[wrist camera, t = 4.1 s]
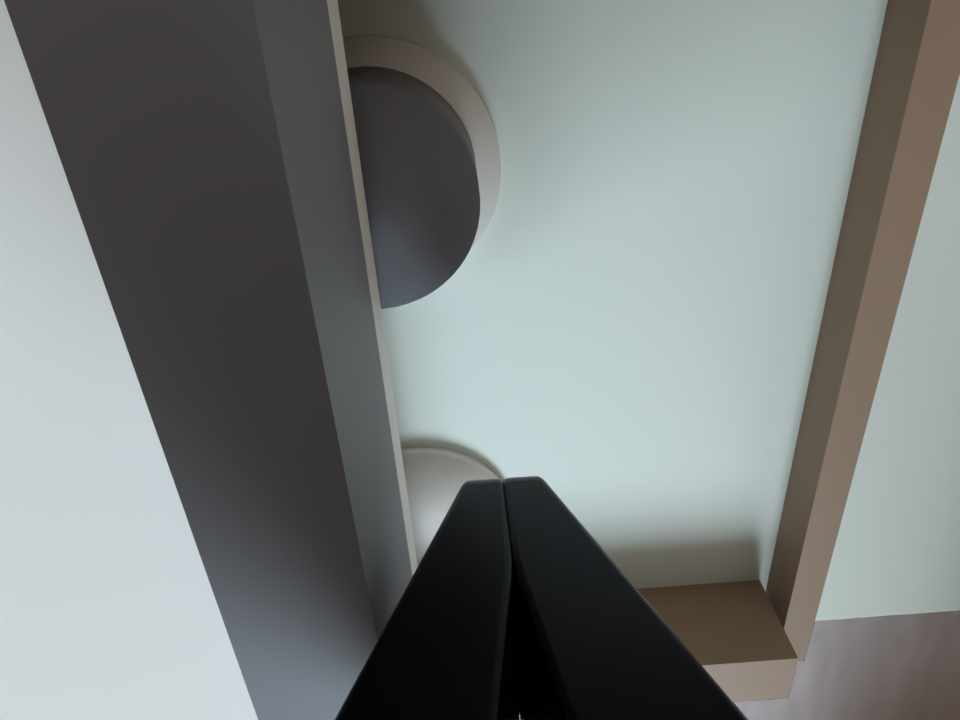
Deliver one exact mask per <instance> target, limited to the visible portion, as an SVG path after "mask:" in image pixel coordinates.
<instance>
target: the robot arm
mask: <svg viewBox="0 0 960 720" xmlns="http://www.w3.org/2000/svg"><path fill="white" fill-rule="evenodd" d="M519 713H520V719H521V720H748V719H747V718H746V717H745V715H744V714H743V713H742V712H741V711H740V710H739V708H738V707H737V706H736V705H735V704H734V703H733V701H732V700H731V699H730V698H729V697H728V695H727V694H726V693H725V692H724V691H723V690H722V688H721V687H720V686H719V685H718V684H717V683H716V681H715V680H714V679H713V678H712V677H711V676H710V674H709V673H708V672H707V671H706V670H705V668H704V667H703V666H702V665H701V664H700V663H699V661H698V660H697V659H696V658H695V657H694V656H693V654H692V653H691V652H690V651H689V650H688V648H687V647H686V646H685V645H684V644H683V643H682V641H681V640H680V639H679V638H678V637H677V636H676V634H675V633H674V632H673V631H672V630H671V628H670V627H669V626H668V625H667V624H666V623H665V621H664V620H663V619H662V618H661V617H660V616H659V614H658V613H657V612H656V611H655V610H654V608H653V607H652V606H651V605H650V604H649V603H648V601H647V600H646V599H645V598H644V597H643V596H642V594H641V593H640V592H639V591H638V590H637V588H636V587H635V586H634V585H633V584H632V583H631V581H630V580H629V579H628V578H627V577H626V576H625V574H624V573H623V572H622V571H621V570H620V569H619V567H618V566H617V565H616V564H615V563H614V561H613V560H612V559H611V558H610V557H609V556H608V554H607V553H606V552H605V551H604V550H603V549H602V547H601V546H600V545H599V544H598V543H597V541H596V540H595V539H594V538H593V537H592V536H591V534H590V533H589V532H588V531H587V530H586V529H585V527H584V526H583V525H582V524H581V523H580V521H579V520H578V519H577V518H576V517H575V516H574V514H573V513H572V512H571V511H570V510H569V509H568V507H567V506H566V505H565V504H564V503H563V501H562V500H561V499H560V498H559V497H558V496H557V494H556V493H555V492H554V491H553V490H552V489H551V487H550V486H549V485H548V484H547V483H546V482H545V480H544V479H543V478H541V477H539V476H526V477H511V478H505V479H504V480H501V479H497V478H496V479H481V480H469V481H466V482H465V483H464V484H463V485H462V486H461V488H460V490H459V492H458V494H457V495H456V497H455V499H454V501H453V503H452V505H451V506H450V508H449V510H448V512H447V514H446V516H445V517H444V519H443V521H442V523H441V525H440V527H439V528H438V530H437V532H436V534H435V536H434V538H433V540H432V541H431V543H430V545H429V547H428V549H427V551H426V552H425V554H424V556H423V558H422V560H421V562H420V563H419V565H418V567H417V569H416V571H415V573H414V574H413V576H412V578H411V580H410V582H409V584H408V585H407V587H406V589H405V591H404V593H403V595H402V597H401V598H400V600H399V602H398V604H397V606H396V608H395V609H394V611H393V613H392V615H391V617H390V619H389V620H388V622H387V624H386V626H385V628H384V630H383V631H382V633H381V635H380V637H379V639H378V641H377V642H376V644H375V646H374V648H373V650H372V652H371V654H370V655H369V657H368V659H367V661H366V663H365V665H364V666H363V668H362V670H361V672H360V674H359V676H358V677H357V679H356V681H355V683H354V685H353V687H352V688H351V690H350V692H349V694H348V696H347V698H346V700H345V701H344V703H343V705H342V707H341V709H340V711H339V712H338V714H337V716H336V718H335V720H519Z"/></svg>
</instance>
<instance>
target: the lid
mask: <svg viewBox="0 0 960 720" xmlns="http://www.w3.org/2000/svg"><path fill="white" fill-rule="evenodd" d="M417 567H418V565H417V558H416V551H415V544H414V537H413V530H412V523H411V516H410V509H409V501H408V494H407V487H406V480H405V473H404V466H403V459H402V452H401V445H400V438H399V431H398V424H397V417H396V410H395V403H394V396H393V389H392V382H391V375H390V368H389V361H388V354H387V346H386V339H385V332H384V325H383V318H382V311H381V304H380V297H379V290H378V283H377V276H376V269H375V262H374V255H373V248H372V241H371V234H370V227H369V220H368V213H367V206H366V199H365V191H364V184H363V177H362V170H361V163H360V156H359V149H358V142H357V135H356V128H355V121H354V114H353V107H352V100H351V93H350V86H349V79H348V72H347V65H346V58H345V51H344V44H343V36H342V29H341V22H340V15H339V8H338V1H337V0H0V720H335V718H336V716H337V714H338V712H339V711H340V709H341V707H342V705H343V703H344V701H345V700H346V698H347V696H348V694H349V692H350V690H351V688H352V687H353V685H354V683H355V681H356V679H357V677H358V676H359V674H360V672H361V670H362V668H363V666H364V665H365V663H366V661H367V659H368V657H369V655H370V654H371V652H372V650H373V648H374V646H375V644H376V642H377V641H378V639H379V637H380V635H381V633H382V631H383V630H384V628H385V626H386V624H387V622H388V620H389V619H390V617H391V615H392V613H393V611H394V609H395V608H396V606H397V604H398V602H399V600H400V598H401V597H402V595H403V593H404V591H405V589H406V587H407V585H408V584H409V582H410V580H411V578H412V576H413V574H414V573H415V571H416V569H417Z"/></svg>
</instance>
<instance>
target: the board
mask: <svg viewBox="0 0 960 720" xmlns="http://www.w3.org/2000/svg"><path fill="white" fill-rule="evenodd" d="M337 1H338V8H339V15H340V22H341V29H342V36H343V44H344V51H345V58H346V65H347V72H348V79H349V86H350V93H351V100H352V107H353V114H354V121H355V128H356V135H357V142H358V149H359V156H360V163H361V170H362V177H363V184H364V191H365V199H366V206H367V213H368V220H369V227H370V234H371V241H372V248H373V255H374V262H375V269H376V276H377V283H378V290H379V297H380V304H381V311H382V318H383V325H384V332H385V339H386V346H387V354H388V361H389V368H390V375H391V382H392V389H393V396H394V403H395V410H396V417H397V424H398V431H399V438H400V445H401V452H402V459H403V466H404V473H405V480H406V487H407V494H408V501H409V509H410V516H411V523H412V530H413V537H414V544H415V551H416V558H417V565H419V563H420V562H421V560H422V558H423V556H424V554H425V552H426V551H427V549H428V547H429V545H430V543H431V541H432V540H433V538H434V536H435V534H436V532H437V530H438V528H439V527H440V525H441V523H442V521H443V519H444V517H445V516H446V514H447V512H448V510H449V508H450V506H451V505H452V503H453V501H454V499H455V497H456V495H457V494H458V492H459V490H460V488H461V486H462V485H463V484H464V483H465V482H466V481H469V480H481V479H496V478H497V479H501V480H504V479H505V478H511V477H526V476H539V477H541V478H543V479H544V480H545V482H546V483H547V484H548V485H549V486H550V487H551V489H552V490H553V491H554V492H555V493H556V494H557V496H558V497H559V498H560V499H561V500H562V501H563V503H564V504H565V505H566V506H567V507H568V509H569V510H570V511H571V512H572V513H573V514H574V516H575V517H576V518H577V519H578V520H579V521H580V523H581V524H582V525H583V526H584V527H585V529H586V530H587V531H588V532H589V533H590V534H591V536H592V537H593V538H594V539H595V540H596V541H597V543H598V544H599V545H600V546H601V547H602V549H603V550H604V551H605V552H606V553H607V554H608V556H609V557H610V558H611V559H612V560H613V561H614V563H615V564H616V565H617V566H618V567H619V569H620V570H621V571H622V572H623V573H624V574H625V576H626V577H627V578H628V579H629V580H630V581H631V583H632V584H633V585H634V586H635V587H636V588H637V590H638V591H639V592H640V593H641V594H642V596H643V597H644V598H645V599H646V600H647V601H648V603H649V604H650V605H651V606H652V607H653V608H654V610H655V611H656V612H657V613H658V614H659V616H660V617H661V618H662V619H663V620H664V621H665V623H666V624H667V625H668V626H669V627H670V628H671V630H672V631H673V632H674V633H675V634H676V636H677V637H678V638H679V639H680V640H681V641H682V643H683V644H684V645H685V646H686V647H687V648H688V650H689V651H690V652H691V653H692V654H693V656H694V657H695V658H696V659H697V660H698V661H699V663H700V664H701V665H702V666H703V667H704V668H705V670H706V671H707V672H708V673H709V674H710V676H711V677H712V678H713V679H714V680H715V681H716V683H717V684H718V685H719V686H720V687H721V688H722V690H723V691H724V692H725V693H726V694H727V695H728V697H729V698H730V699H731V700H732V701H733V702H742V701H756V700H769V699H783V698H788V697H789V693H790V689H791V685H792V681H793V677H794V673H795V670H796V666H797V662H798V661H804V660H805V656H806V653H807V649H808V645H809V641H810V638H811V634H812V630H813V626H814V622H815V621H823V620H836V619H850V618H864V617H877V616H891V615H905V614H918V613H932V612H945V611H959V610H960V0H337ZM519 718H520V713H519Z"/></svg>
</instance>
